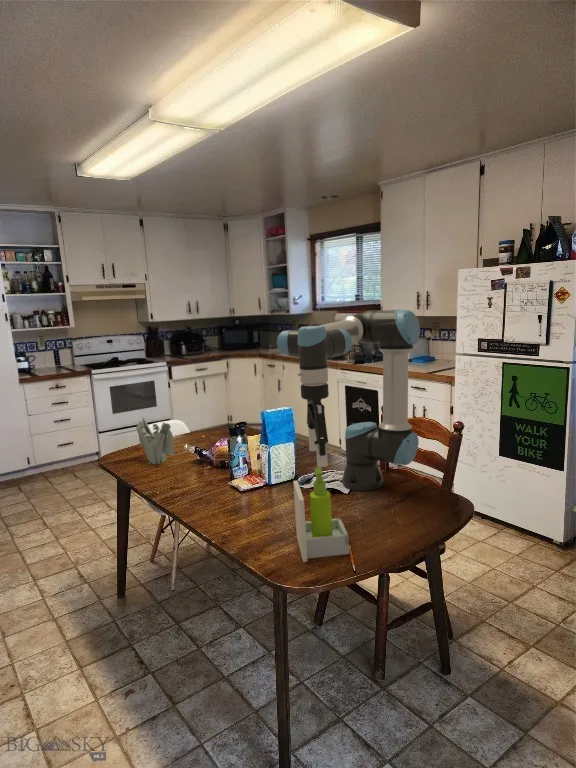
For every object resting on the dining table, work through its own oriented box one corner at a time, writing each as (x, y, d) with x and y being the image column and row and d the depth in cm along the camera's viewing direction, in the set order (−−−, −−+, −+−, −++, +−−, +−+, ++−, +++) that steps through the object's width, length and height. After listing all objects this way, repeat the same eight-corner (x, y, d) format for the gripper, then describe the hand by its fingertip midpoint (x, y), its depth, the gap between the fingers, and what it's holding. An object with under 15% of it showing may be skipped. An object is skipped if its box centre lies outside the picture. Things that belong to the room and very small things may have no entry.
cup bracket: (339, 532, 148) (337, 476, 145) (350, 556, 135) (348, 495, 132) (296, 537, 147) (293, 480, 144) (303, 562, 134) (299, 500, 130)
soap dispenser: (331, 529, 144) (327, 465, 141) (333, 541, 138) (330, 473, 134) (311, 530, 144) (307, 466, 141) (312, 542, 138) (308, 475, 134)
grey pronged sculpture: (134, 458, 232) (129, 417, 228) (147, 454, 237) (142, 414, 233) (168, 469, 214) (163, 425, 210) (181, 464, 219) (177, 421, 215)
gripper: (294, 377, 145) (299, 445, 148) (307, 393, 120) (311, 475, 124) (319, 375, 145) (323, 443, 149) (337, 390, 121) (341, 472, 125)
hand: (318, 458), depth 137 cm, fingers open, 13 cm apart
